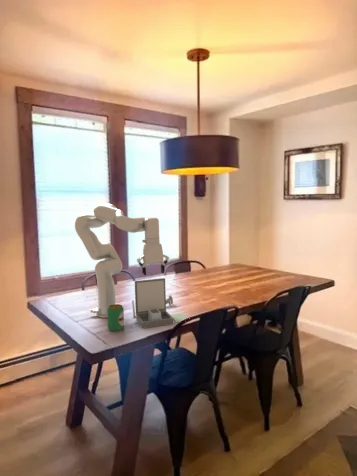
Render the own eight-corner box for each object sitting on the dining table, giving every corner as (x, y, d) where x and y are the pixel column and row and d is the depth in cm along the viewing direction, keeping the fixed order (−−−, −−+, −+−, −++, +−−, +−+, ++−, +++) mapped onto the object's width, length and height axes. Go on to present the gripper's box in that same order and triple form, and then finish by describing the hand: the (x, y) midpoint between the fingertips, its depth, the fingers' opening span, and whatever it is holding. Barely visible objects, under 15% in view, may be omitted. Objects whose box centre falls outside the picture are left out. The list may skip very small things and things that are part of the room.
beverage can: (119, 332, 178) (118, 309, 177) (105, 331, 181) (104, 307, 180) (127, 327, 185) (126, 304, 184) (113, 325, 188) (112, 303, 187)
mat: (176, 322, 191) (176, 321, 191) (169, 315, 203) (169, 314, 203) (190, 320, 193) (190, 319, 193) (182, 313, 205) (182, 313, 205)
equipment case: (138, 328, 183) (136, 287, 180) (132, 319, 197) (130, 281, 195) (173, 323, 189) (172, 283, 186) (165, 315, 203) (164, 278, 201)
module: (152, 325, 188) (151, 313, 187) (148, 320, 196) (148, 309, 195) (161, 323, 190) (161, 312, 189) (157, 319, 197) (157, 308, 196)
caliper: (171, 304, 225) (171, 294, 225) (173, 304, 225) (172, 294, 224) (148, 312, 210) (147, 302, 209) (149, 312, 209) (149, 302, 209)
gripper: (137, 243, 182) (139, 276, 183) (170, 241, 187) (171, 273, 189) (134, 241, 189) (136, 274, 191) (166, 239, 194) (167, 271, 196)
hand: (153, 273), depth 190 cm, fingers open, 9 cm apart
